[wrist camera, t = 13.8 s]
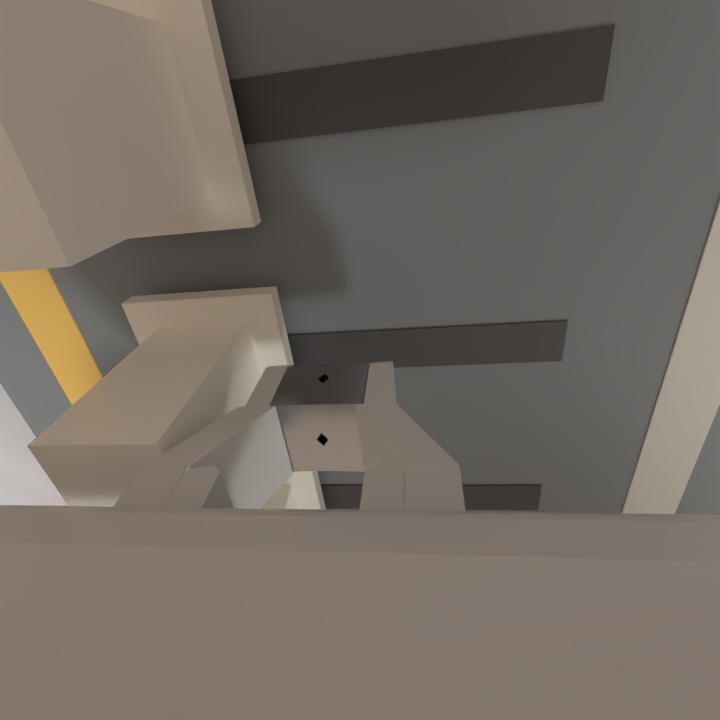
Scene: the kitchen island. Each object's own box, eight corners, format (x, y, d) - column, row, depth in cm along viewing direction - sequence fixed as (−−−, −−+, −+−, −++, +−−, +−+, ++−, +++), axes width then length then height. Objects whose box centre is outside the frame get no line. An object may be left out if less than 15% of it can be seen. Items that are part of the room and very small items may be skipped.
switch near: (204, -28, 8) (-58, -194, 3) (261, 221, 10) (148, 312, 6) (11, 8, 8) (-422, -94, 4) (106, 236, 10) (-103, 328, 6)
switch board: (1001, -194, 7) (1189, -286, 5) (692, 509, 16) (725, 558, 15) (-143, 25, 11) (-251, 9, 9) (132, 504, 20) (105, 543, 18)
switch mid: (276, 286, 11) (188, 408, 6) (306, 421, 13) (255, 578, 9) (132, 296, 11) (-37, 414, 7) (185, 424, 13) (82, 572, 9)
